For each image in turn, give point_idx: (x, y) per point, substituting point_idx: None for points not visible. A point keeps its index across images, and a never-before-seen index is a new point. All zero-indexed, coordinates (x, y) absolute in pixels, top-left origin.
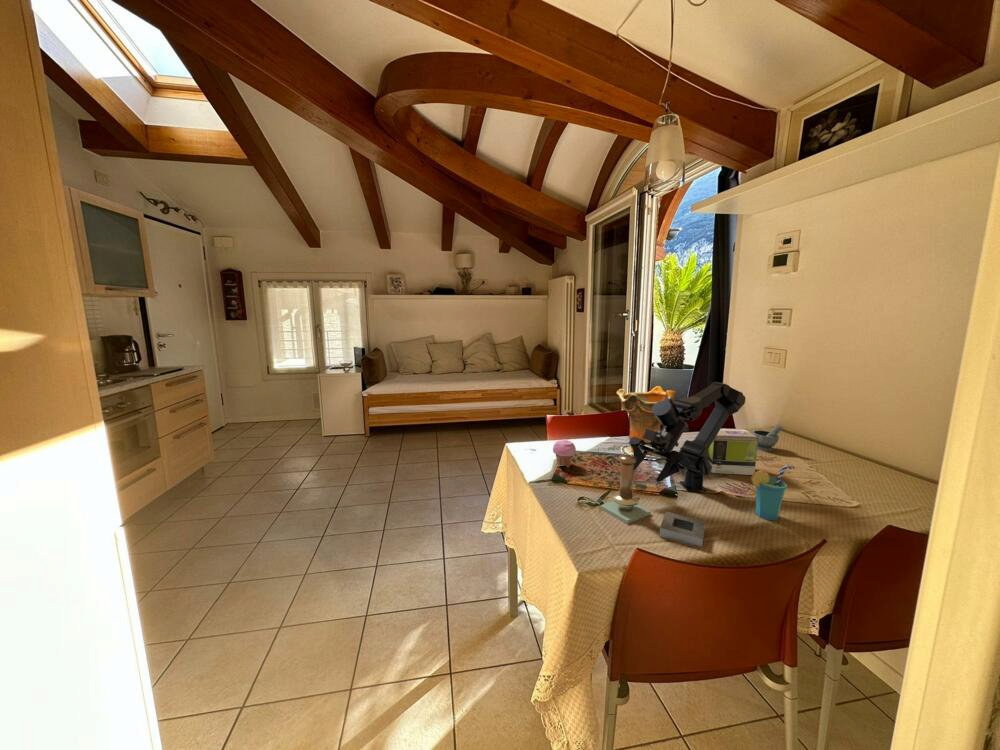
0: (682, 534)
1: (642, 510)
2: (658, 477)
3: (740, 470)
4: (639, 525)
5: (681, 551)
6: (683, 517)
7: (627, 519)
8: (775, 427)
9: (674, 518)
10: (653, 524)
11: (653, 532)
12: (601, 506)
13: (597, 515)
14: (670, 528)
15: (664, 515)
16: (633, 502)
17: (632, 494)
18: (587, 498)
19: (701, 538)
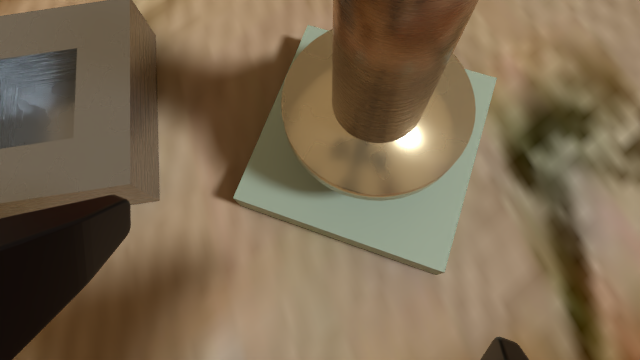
0: (26, 13)
1: (276, 174)
2: (84, 208)
3: None
4: (260, 81)
5: (60, 6)
6: (24, 177)
7: (310, 34)
8: None
9: (74, 139)
10: (204, 132)
11: (188, 65)
12: (486, 76)
13: (465, 40)
14: (82, 21)
15: (128, 128)
16: (301, 53)
17: (333, 99)
18: (624, 171)
19: None
